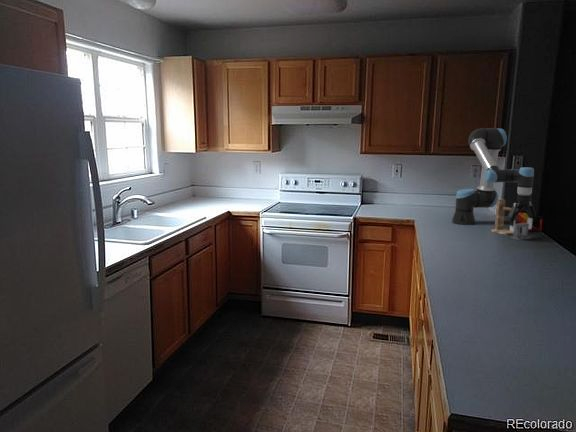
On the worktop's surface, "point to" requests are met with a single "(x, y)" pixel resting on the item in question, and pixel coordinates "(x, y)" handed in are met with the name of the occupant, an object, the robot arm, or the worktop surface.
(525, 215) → the mug
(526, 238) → the pad
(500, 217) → the stand
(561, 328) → the worktop surface
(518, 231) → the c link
